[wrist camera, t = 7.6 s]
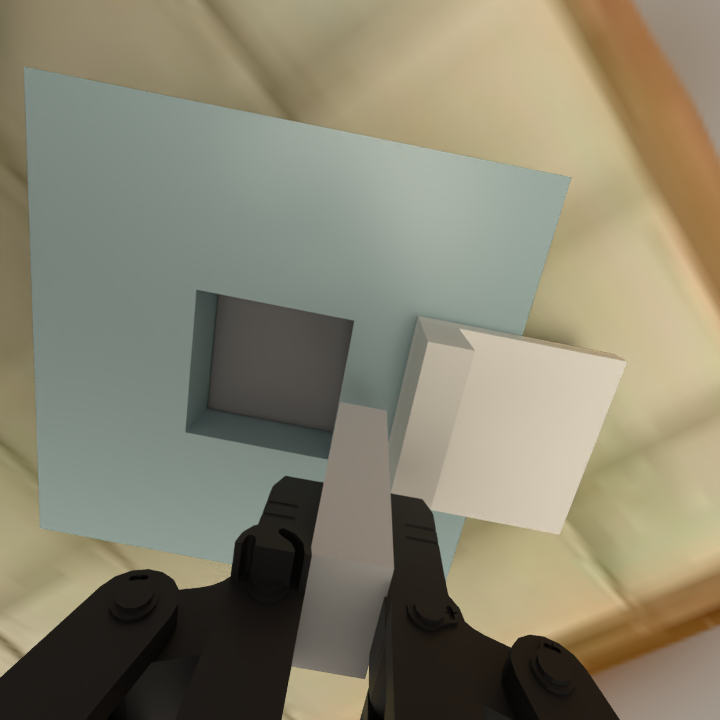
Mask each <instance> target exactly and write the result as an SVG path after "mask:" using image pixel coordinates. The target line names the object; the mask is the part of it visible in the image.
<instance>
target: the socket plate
mask: <svg viewBox="0 0 720 720" xmlns="http://www.w3.org/2000/svg"><path fill="white" fill-rule="evenodd" d="M24 85H25V114H26V142H27V171H28V199H29V228H30V256H31V285H32V313H33V342H34V370H35V398H36V427H37V455H38V484H39V512H40V528H42V529H47V530H52V531H58V532H63V533H68V534H74V535H79V536H84V537H90V538H95V539H100V540H106V541H111V542H116V543H121V544H127V545H132V546H137V547H143V548H148V549H153V550H159V551H164V552H169V553H175V554H180V555H185V556H191V557H196V558H201V559H207V560H212V561H217V562H222V563H228V564H232V562H233V554H234V545H235V541H236V540H237V538H238V537H239V536H240V534H241V533H242V532H243V531H245V530H247V529H248V528H250V527H252V526H253V525H258V523H259V521H260V518H261V515H262V514H263V510H264V508H265V505H266V503H267V500H268V497H269V494H270V492H271V489H272V487H273V485H275V484H276V483H277V482H278V481H279V480H281V479H282V478H283V477H284V476H290V477H296V478H301V479H307V480H312V481H318V482H323V483H324V480H325V474H326V469H327V464H328V459H329V454H330V449H331V444H332V439H333V434H334V429H335V426H334V425H335V424H336V419H337V414H338V409H339V405H338V404H340V402H343V403H348V404H354V405H359V406H364V407H370V408H375V409H381V410H386V411H387V428H388V442H389V437H390V433H391V429H392V424H393V420H394V416H395V412H396V407H397V403H398V399H399V395H400V390H401V386H402V382H403V378H404V373H405V369H406V365H407V360H408V356H409V352H410V348H411V343H412V339H413V335H414V331H415V326H416V322H417V318H418V316H423V317H428V318H433V319H439V320H444V321H449V322H454V323H459V324H464V325H469V326H474V327H479V328H484V329H489V330H494V331H499V332H505V333H510V334H515V335H520V336H522V335H523V332H524V329H525V325H526V322H527V319H528V316H529V313H530V309H531V306H532V303H533V300H534V297H535V293H536V290H537V287H538V284H539V281H540V277H541V274H542V271H543V268H544V264H545V261H546V258H547V255H548V252H549V248H550V245H551V242H552V239H553V236H554V232H555V229H556V226H557V223H558V219H559V216H560V213H561V210H562V207H563V203H564V200H565V197H566V194H567V191H568V187H569V184H570V181H571V178H572V177H567V176H562V175H557V174H552V173H547V172H542V171H537V170H532V169H528V168H523V167H518V166H513V165H508V164H503V163H498V162H493V161H488V160H483V159H478V158H473V157H468V156H463V155H458V154H453V153H448V152H444V151H439V150H434V149H429V148H424V147H419V146H414V145H409V144H404V143H399V142H394V141H389V140H384V139H379V138H374V137H369V136H364V135H360V134H355V133H350V132H345V131H340V130H335V129H330V128H325V127H320V126H315V125H310V124H305V123H300V122H295V121H290V120H285V119H280V118H276V117H271V116H266V115H261V114H256V113H251V112H246V111H241V110H236V109H231V108H226V107H221V106H216V105H211V104H206V103H201V102H196V101H192V100H187V99H182V98H177V97H172V96H167V95H162V94H157V93H152V92H147V91H142V90H137V89H132V88H127V87H122V86H117V85H112V84H108V83H103V82H98V81H93V80H88V79H83V78H78V77H73V76H68V75H63V74H58V73H53V72H48V71H43V70H38V69H33V68H28V67H24ZM350 341H351V342H350ZM346 362H347V363H346ZM342 383H343V384H342ZM431 511H432V513H433V516H434V521H435V527H436V532H437V538H438V545H439V549H440V554H441V559H442V565H443V570H444V576H445V581H446V579H447V576H448V573H449V570H450V566H451V563H452V560H453V557H454V553H455V550H456V547H457V544H458V541H459V537H460V534H461V531H462V528H463V525H464V521H465V518H466V517H465V516H459V515H454V514H449V513H444V512H439V511H433V510H431Z"/></svg>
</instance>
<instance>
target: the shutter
mask: <svg viewBox="0 0 720 720" xmlns="http://www.w3.org/2000/svg"><path fill="white" fill-rule="evenodd" d="M626 364H627V361H625V360H624V359H622V358H620V357H618V356H617V355H615V354H611V353H606V352H601V351H596V350H591V349H586V348H581V347H576V346H571V345H565V344H560V343H555V342H550V341H545V340H540V339H535V338H530V337H525V336H520V335H515V334H510V333H505V332H499V331H494V330H489V329H484V328H479V327H474V326H469V325H464V324H459V323H454V322H449V321H444V320H439V319H433V318H428V317H423V316H418V318H417V322H416V326H415V331H414V335H413V339H412V343H411V348H410V352H409V356H408V360H407V365H406V369H405V373H404V378H403V382H402V386H401V390H400V395H399V399H398V403H397V407H396V412H395V416H394V420H393V424H392V429H391V433H390V437H389V442H388V449H389V470H390V492H391V493H392V494H397V495H403V496H408V497H414V498H419V499H423V500H424V502H425V503H426V504H427V506H428V507H429V509H430V510H433V511H439V512H444V513H449V514H454V515H459V516H465V517H470V518H475V519H480V520H486V521H491V522H496V523H501V524H507V525H512V526H517V527H522V528H528V529H533V530H538V531H543V532H549V533H554V534H560V532H561V529H562V527H563V524H564V522H565V519H566V517H567V514H568V511H569V509H570V506H571V504H572V501H573V499H574V496H575V494H576V491H577V489H578V486H579V483H580V481H581V478H582V476H583V473H584V471H585V468H586V466H587V463H588V461H589V458H590V455H591V453H592V450H593V448H594V445H595V443H596V440H597V438H598V435H599V433H600V430H601V427H602V425H603V422H604V420H605V417H606V415H607V412H608V410H609V407H610V405H611V402H612V399H613V397H614V394H615V392H616V389H617V387H618V384H619V382H620V379H621V377H622V374H623V371H624V369H625V366H626Z"/></svg>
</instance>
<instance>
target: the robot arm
mask: <svg viewBox="0 0 720 720" xmlns="http://www.w3.org/2000/svg"><path fill="white" fill-rule="evenodd" d="M291 666H292V667H298V668H304V669H310V670H315V671H321V672H327V673H333V674H339V675H345V676H350V677H356V678H362V679H365V677H366V673H367V670H368V666H369V689H368V692H367V696H366V700H365V703H364V707H363V711H362V714H361V718H360V720H620V719H619V718H618V717H617V715H616V713H615V712H614V711H613V709H612V708H611V706H610V704H609V703H608V701H607V700H606V698H605V697H604V696H603V694H602V692H601V691H600V690H599V688H598V686H597V685H596V683H595V682H594V680H593V679H592V677H591V676H590V674H589V673H588V672H587V670H586V669H585V668H584V666H583V665H582V664H581V663H580V662H579V660H578V659H577V658H576V657H575V656H574V655H573V654H572V653H571V652H569V651H568V650H567V649H565V648H564V647H563V646H561V645H560V644H559V643H557V642H554V641H552V640H550V639H548V638H546V637H542V636H535V635H527V636H524V637H520V638H518V639H517V641H516V642H515V643H514V644H513V646H512V647H508V646H506V645H504V644H502V643H500V642H498V641H496V640H494V639H491V638H489V637H487V636H485V635H483V634H482V633H480V632H478V631H476V630H475V629H473V628H472V627H471V626H469V625H468V624H467V623H466V622H465V621H464V618H463V616H462V613H461V611H460V609H459V607H458V606H457V605H456V604H455V603H454V601H453V600H452V599H451V598H450V597H449V596H448V592H447V587H446V581H445V576H444V570H443V565H442V559H441V554H440V549H439V545H438V538H437V532H436V527H435V521H434V516H433V513H432V511H431V510H430V509H429V507H428V506H427V504H426V503H425V502H424V500H423V499H419V498H414V497H408V496H403V495H397V494H392V493H391V492H390V470H389V449H388V428H387V411H386V410H381V409H375V408H370V407H364V406H359V405H354V404H348V403H343V402H340V404H339V409H338V414H337V419H336V424H335V429H334V434H333V439H332V444H331V449H330V454H329V459H328V464H327V469H326V474H325V480H324V483H323V482H318V481H312V480H307V479H301V478H296V477H290V476H284V477H283V478H282V479H281V480H279V481H278V482H277V483H276V484H275V485H273V487H272V489H271V492H270V494H269V497H268V500H267V503H266V505H265V508H264V510H263V514H262V515H261V518H260V521H259V523H258V525H253V526H252V527H250V528H248V529H247V530H245V531H243V532H242V533H241V534H240V536H239V537H238V538H237V540H236V541H235V545H234V554H233V562H232V571H231V577H229V578H227V579H226V580H224V581H222V582H220V583H217V584H215V585H211V586H206V587H201V588H192V589H182V590H179V589H178V587H177V585H176V583H175V581H174V580H173V579H172V578H170V577H169V576H167V575H166V574H165V573H163V572H159V571H154V570H149V569H146V570H134V571H129V572H127V573H124V574H121V575H118V576H116V577H114V578H112V579H111V580H109V581H108V582H106V583H105V584H103V585H102V586H101V587H99V588H98V589H97V590H96V591H95V592H94V593H93V594H92V595H91V596H89V597H88V598H87V599H86V600H85V601H84V602H83V603H82V604H81V605H80V606H78V607H77V608H76V609H75V610H74V611H73V612H72V613H71V614H70V615H69V616H67V617H66V618H65V619H64V620H63V621H62V622H61V623H60V624H59V625H58V626H56V627H55V628H54V629H53V630H52V631H51V632H50V633H49V634H48V635H47V636H45V637H44V638H43V639H42V640H41V641H40V642H39V643H38V644H37V645H36V646H34V647H33V648H32V649H31V650H30V651H29V652H28V653H27V654H26V655H25V656H24V657H22V658H21V659H20V660H19V661H18V662H17V663H16V664H15V665H14V666H13V667H11V668H10V669H9V670H8V671H7V672H6V673H5V674H4V675H3V676H2V677H0V720H281V719H282V714H283V708H284V703H285V697H286V692H287V687H288V681H289V676H290V671H291Z"/></svg>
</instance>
